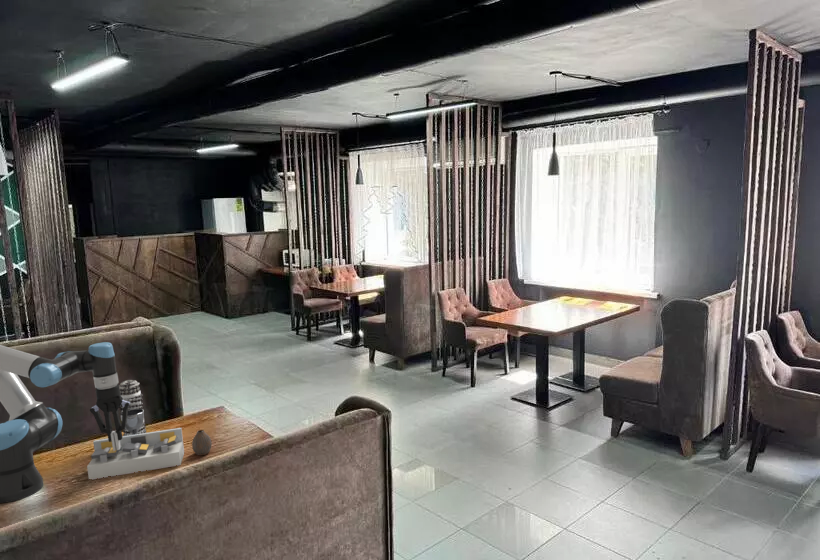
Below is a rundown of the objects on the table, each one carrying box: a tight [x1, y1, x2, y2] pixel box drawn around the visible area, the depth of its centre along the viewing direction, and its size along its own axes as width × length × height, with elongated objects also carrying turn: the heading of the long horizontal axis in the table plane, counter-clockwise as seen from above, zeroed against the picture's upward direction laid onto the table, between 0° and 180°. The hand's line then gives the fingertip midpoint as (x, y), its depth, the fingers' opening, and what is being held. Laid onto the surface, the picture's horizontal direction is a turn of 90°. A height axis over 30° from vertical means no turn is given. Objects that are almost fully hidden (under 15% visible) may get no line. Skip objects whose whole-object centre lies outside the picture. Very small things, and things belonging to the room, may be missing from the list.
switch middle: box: [122, 443, 149, 453], centre depth 203 cm, size 8×5×2 cm, turn 105°
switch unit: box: [86, 427, 185, 480], centre depth 204 cm, size 30×11×10 cm, turn 105°
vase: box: [191, 429, 213, 456], centre depth 212 cm, size 7×7×9 cm
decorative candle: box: [118, 379, 147, 436], centre depth 227 cm, size 9×9×25 cm
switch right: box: [153, 435, 178, 452], centre depth 206 cm, size 8×5×2 cm, turn 105°
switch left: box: [91, 447, 120, 460], centre depth 201 cm, size 8×5×2 cm, turn 105°
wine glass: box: [120, 408, 145, 435], centre depth 219 cm, size 8×8×15 cm
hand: (117, 449), depth 201 cm, fingers closed, pressing on switch left
